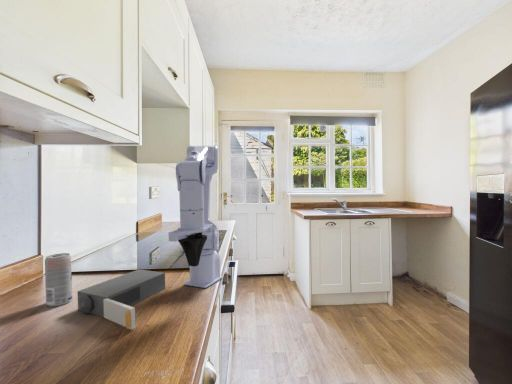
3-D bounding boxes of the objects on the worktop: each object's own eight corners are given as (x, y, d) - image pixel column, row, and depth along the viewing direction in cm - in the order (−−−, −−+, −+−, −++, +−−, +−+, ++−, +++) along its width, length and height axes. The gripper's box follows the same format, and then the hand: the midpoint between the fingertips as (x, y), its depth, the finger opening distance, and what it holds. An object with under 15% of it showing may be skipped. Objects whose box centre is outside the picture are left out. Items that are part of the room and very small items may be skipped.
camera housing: (139, 284, 79) (139, 269, 79) (165, 288, 75) (165, 273, 75) (73, 311, 62) (73, 292, 62) (103, 319, 58) (102, 299, 58)
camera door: (135, 327, 53) (134, 307, 53) (129, 330, 52) (128, 310, 52) (107, 316, 58) (107, 298, 58) (101, 318, 57) (100, 300, 57)
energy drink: (68, 296, 71) (67, 252, 71) (75, 301, 68) (73, 254, 67) (43, 303, 67) (42, 256, 67) (49, 309, 64) (47, 259, 63)
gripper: (196, 207, 73) (198, 256, 73) (157, 212, 59) (159, 272, 60) (218, 207, 70) (220, 258, 70) (182, 212, 57) (184, 276, 57)
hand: (193, 265), depth 65 cm, fingers closed
